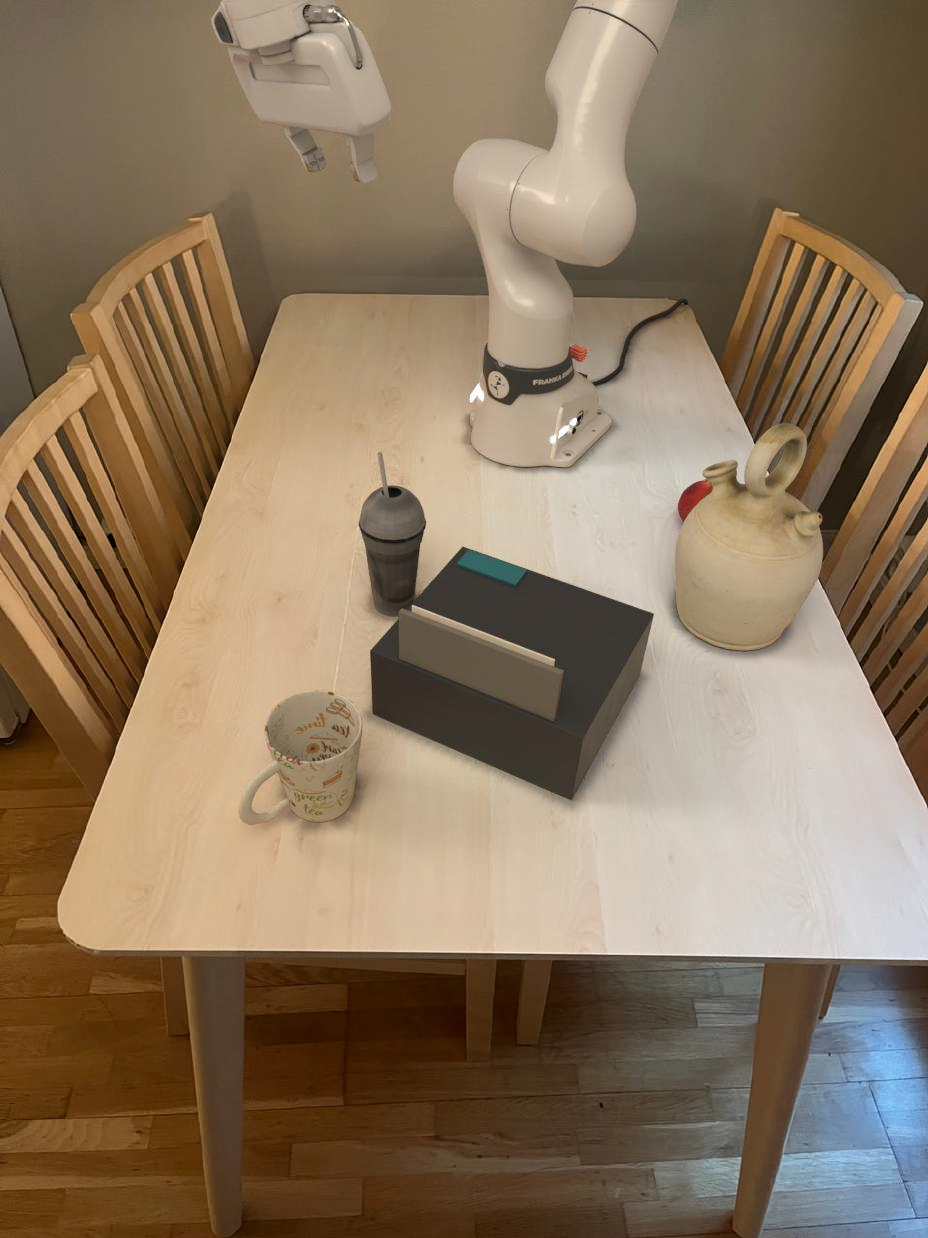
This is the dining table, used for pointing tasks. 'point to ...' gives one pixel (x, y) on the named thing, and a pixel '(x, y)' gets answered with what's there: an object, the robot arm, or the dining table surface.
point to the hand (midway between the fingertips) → (341, 174)
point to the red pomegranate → (693, 497)
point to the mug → (309, 757)
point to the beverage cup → (392, 544)
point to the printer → (510, 668)
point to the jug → (749, 549)
